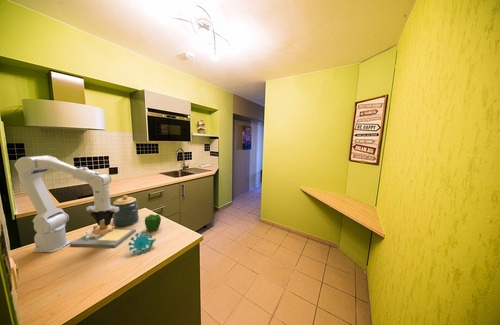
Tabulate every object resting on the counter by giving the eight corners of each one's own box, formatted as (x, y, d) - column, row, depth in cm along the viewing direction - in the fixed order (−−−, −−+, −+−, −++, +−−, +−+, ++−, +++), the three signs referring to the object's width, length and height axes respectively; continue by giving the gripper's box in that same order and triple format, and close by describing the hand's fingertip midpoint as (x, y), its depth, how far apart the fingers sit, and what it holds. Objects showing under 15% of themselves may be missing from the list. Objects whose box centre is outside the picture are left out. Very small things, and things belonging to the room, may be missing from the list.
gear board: (70, 245, 77) (69, 234, 77) (97, 230, 91) (96, 220, 91) (115, 247, 78) (114, 236, 77) (135, 231, 91) (135, 221, 91)
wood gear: (87, 234, 75) (87, 223, 75) (103, 227, 83) (103, 216, 83) (104, 235, 75) (104, 224, 74) (118, 227, 83) (118, 217, 83)
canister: (112, 221, 102) (110, 194, 99) (137, 215, 110) (135, 191, 108) (113, 229, 92) (111, 200, 90) (140, 222, 101) (139, 196, 99)
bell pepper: (154, 224, 100) (154, 209, 99) (163, 227, 97) (163, 211, 96) (141, 230, 92) (140, 214, 91) (150, 234, 89) (150, 217, 88)
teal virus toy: (125, 255, 70) (130, 232, 76) (126, 258, 74) (130, 235, 80) (154, 251, 76) (156, 229, 81) (154, 254, 80) (156, 233, 85)
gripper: (78, 201, 73) (81, 228, 75) (109, 202, 73) (111, 229, 75) (93, 195, 80) (95, 221, 82) (121, 197, 80) (123, 222, 82)
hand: (104, 224), depth 79 cm, fingers closed on wood gear, 3 cm apart
